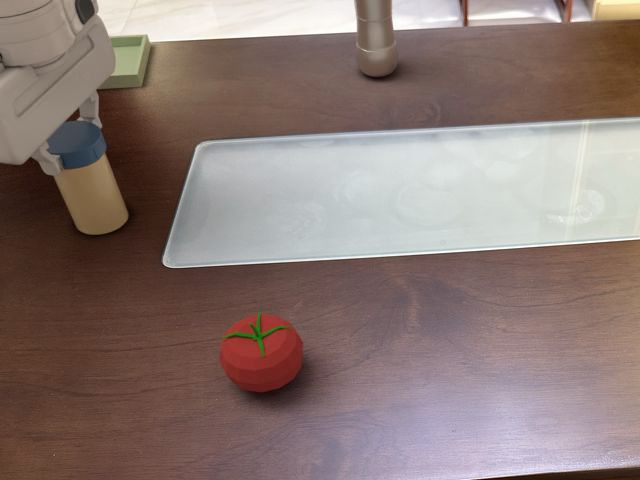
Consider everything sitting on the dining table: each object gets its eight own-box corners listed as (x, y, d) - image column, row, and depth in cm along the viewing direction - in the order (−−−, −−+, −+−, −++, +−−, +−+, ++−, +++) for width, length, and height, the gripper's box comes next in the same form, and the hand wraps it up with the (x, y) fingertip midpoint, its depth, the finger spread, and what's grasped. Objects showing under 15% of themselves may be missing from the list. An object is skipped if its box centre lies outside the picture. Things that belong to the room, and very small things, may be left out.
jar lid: (120, 145, 81) (114, 130, 80) (75, 175, 77) (69, 160, 76) (75, 129, 83) (69, 114, 82) (30, 158, 79) (22, 142, 78)
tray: (39, 92, 105) (33, 79, 103) (56, 51, 112) (50, 38, 111) (141, 86, 106) (137, 74, 105) (151, 46, 114) (147, 34, 113)
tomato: (233, 346, 75) (216, 294, 69) (309, 342, 75) (298, 290, 69) (224, 409, 70) (204, 359, 64) (306, 404, 70) (294, 354, 64)
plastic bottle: (405, 64, 113) (399, -76, 98) (390, 85, 109) (382, -57, 93) (366, 57, 114) (355, -82, 99) (350, 78, 110) (336, -64, 94)
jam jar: (72, 237, 84) (35, 159, 77) (79, 206, 88) (45, 128, 80) (126, 232, 85) (95, 154, 78) (130, 201, 89) (102, 124, 81)
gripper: (-15, 86, 63) (50, 212, 73) (103, -13, 76) (144, 106, 86) (-81, 77, 63) (-7, 204, 74) (47, -19, 76) (94, 99, 87)
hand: (75, 150), depth 80 cm, fingers closed on jar lid, 6 cm apart
